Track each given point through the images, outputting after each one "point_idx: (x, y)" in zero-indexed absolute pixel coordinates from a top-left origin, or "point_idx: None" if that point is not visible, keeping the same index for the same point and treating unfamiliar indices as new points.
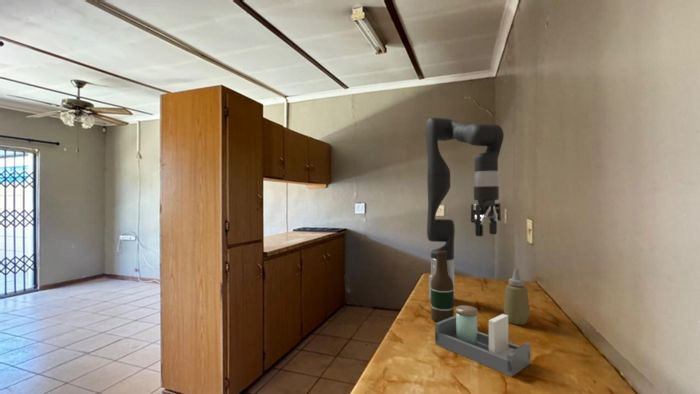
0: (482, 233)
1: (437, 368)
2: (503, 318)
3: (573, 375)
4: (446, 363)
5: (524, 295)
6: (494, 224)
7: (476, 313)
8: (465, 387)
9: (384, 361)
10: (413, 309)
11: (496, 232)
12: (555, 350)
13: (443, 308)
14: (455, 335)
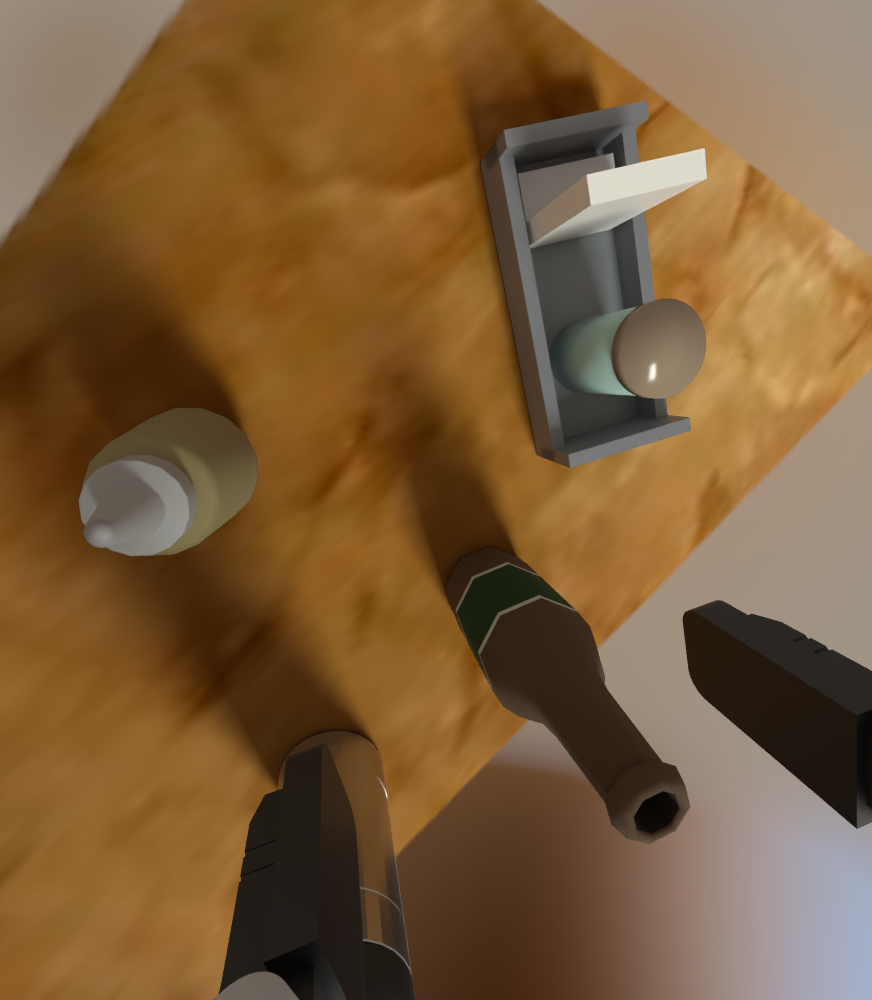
0: (728, 619)
1: (739, 291)
2: (626, 167)
3: (419, 19)
4: (700, 302)
5: (163, 426)
6: (326, 932)
7: (648, 302)
8: (750, 170)
9: (820, 392)
10: None
11: (296, 765)
12: (299, 180)
13: (530, 573)
14: (565, 430)
